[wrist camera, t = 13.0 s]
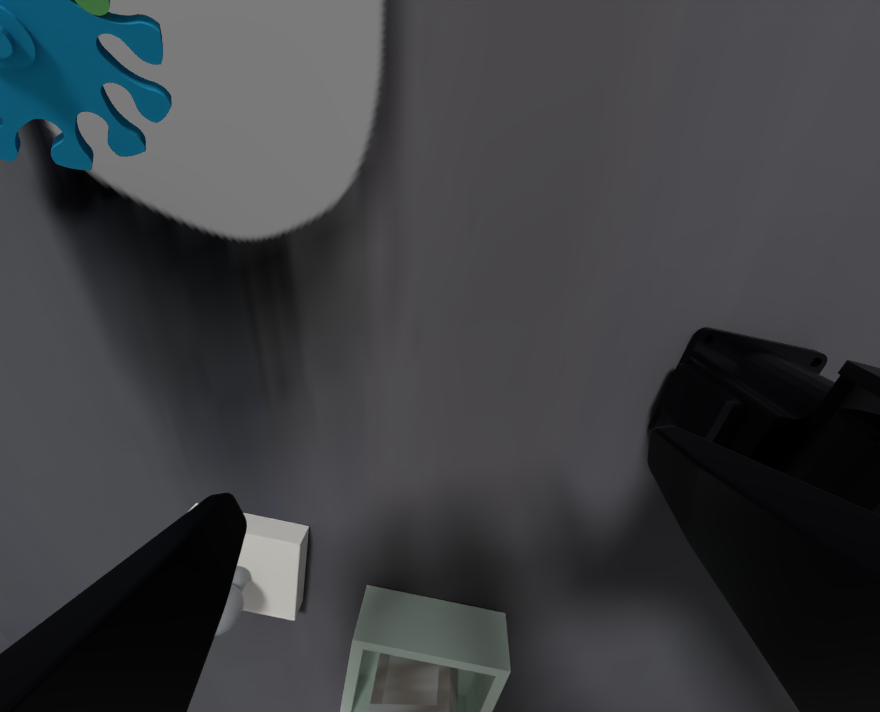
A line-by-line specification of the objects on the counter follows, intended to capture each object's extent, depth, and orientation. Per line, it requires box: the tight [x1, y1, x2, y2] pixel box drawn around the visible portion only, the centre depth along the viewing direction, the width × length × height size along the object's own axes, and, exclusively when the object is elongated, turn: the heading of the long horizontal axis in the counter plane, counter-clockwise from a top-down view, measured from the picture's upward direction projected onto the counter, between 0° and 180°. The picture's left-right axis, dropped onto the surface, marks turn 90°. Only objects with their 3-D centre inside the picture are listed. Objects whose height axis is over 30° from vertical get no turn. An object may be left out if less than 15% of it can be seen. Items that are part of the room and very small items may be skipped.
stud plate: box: [188, 503, 309, 636], centre depth 25 cm, size 8×8×5 cm
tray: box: [340, 585, 511, 712], centre depth 28 cm, size 11×11×4 cm
